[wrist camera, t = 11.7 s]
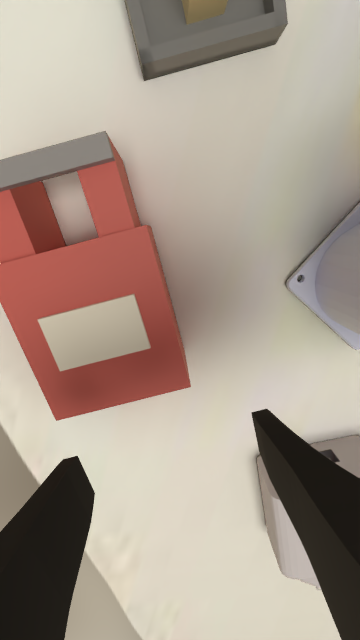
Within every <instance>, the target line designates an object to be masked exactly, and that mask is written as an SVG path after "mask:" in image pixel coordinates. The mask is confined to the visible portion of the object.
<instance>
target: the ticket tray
mask: <svg viewBox="0 0 360 640" xmlns="http://www.w3.org/2000/svg"><path fill="white" fill-rule="evenodd" d="M125 4H126V8H127V12H128V16H129V20H130V25H131V29H132V33H133V37H134V41H135V45H136V49H137V54H138V58H139V62H140V66H141V70H142V74H143V79H144V81H145V80H149V79H152V78H156V77H160V76H163V75H167V74H170V73H174V72H177V71H181V70H185V69H188V68H192V67H195V66H199V65H202V64H206V63H210V62H213V61H217V60H220V59H224V58H228V57H231V56H235V55H238V54H242V53H245V52H249V51H253V50H256V49H260V48H263V47H267V46H270V45H274V44H276V42H277V41H278V39H279V37H280V36H281V34H282V32H283V31H284V29H285V27H286V26H287V24H288V21H287V12H286V2H285V0H228V1H227V5H226V8H225V12H224V14H221V15H218V16H215V17H211V18H208V19H205V20H201V21H198V22H195V23H191V24H188V25H187V24H186V19H185V14H184V9H183V4H182V0H125Z"/></svg>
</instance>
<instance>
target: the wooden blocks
mask: <svg viewBox="0 0 360 640" xmlns="http://www.w3.org/2000/svg"><path fill="white" fill-rule="evenodd" d="M227 1H228V0H182V4H183V9H184V14H185V19H186V24H187V25H188V24H191V23H195V22H198V21H201V20H205V19H208V18H211V17H215V16H218V15H221V14H224V12H225V8H226V5H227Z"/></svg>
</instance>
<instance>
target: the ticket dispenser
mask: <svg viewBox="0 0 360 640" xmlns="http://www.w3.org/2000/svg"><path fill="white" fill-rule="evenodd" d="M75 171H77V173H78V176H79V179H80V182H81V185H82V188H83V191H84V194H85V197H86V200H87V203H88V206H89V209H90V212H91V215H92V218H93V221H94V224H95V227H96V230H97V233H98V236H99V238H95V239H92V240H88V241H84V242H80V243H77V244H73V245H69V246H66V245H65V242H64V239H63V236H62V234H61V231H60V228H59V226H58V223H57V220H56V218H55V215H54V212H53V209H52V207H51V204H50V201H49V199H48V196H47V193H46V190H45V188H44V185H43V183H42V182H40V181H42V180H46V179H49V178H53V177H57V176H60V175H64V174H68V173H71V172H75ZM0 263H1V264H0V302H1V305H2V307H3V309H4V311H5V313H6V315H7V317H8V319H9V322H10V324H11V326H12V328H13V330H14V332H15V334H16V336H17V339H18V341H19V343H20V345H21V347H22V349H23V351H24V353H25V355H26V358H27V360H28V362H29V364H30V366H31V368H32V370H33V372H34V375H35V377H36V379H37V381H38V383H39V385H40V387H41V389H42V392H43V394H44V396H45V398H46V400H47V402H48V404H49V406H50V409H51V411H52V413H53V415H54V417H55V419H56V421H57V420H61V419H65V418H69V417H73V416H77V415H81V414H85V413H89V412H93V411H97V410H101V409H105V408H109V407H113V406H117V405H121V404H125V403H129V402H133V401H137V400H140V399H144V398H148V397H152V396H156V395H160V394H164V393H168V392H172V391H176V390H180V389H184V388H188V387H191V385H190V379H189V374H188V368H187V362H186V356H185V351H184V347H183V343H182V340H181V336H180V332H179V329H178V325H177V321H176V318H175V314H174V310H173V306H172V303H171V299H170V295H169V292H168V288H167V284H166V281H165V277H164V273H163V270H162V266H161V262H160V258H159V255H158V251H157V247H156V244H155V240H154V236H153V233H152V229H151V226H148V225H144V226H141V224H140V221H139V217H138V214H137V210H136V206H135V203H134V199H133V196H132V192H131V189H130V185H129V182H128V178H127V174H126V171H125V167H124V164H123V160H122V159H121V157H120V155H119V154H118V152H117V150H116V148H115V147H114V145H113V143H112V142H111V140H110V138H109V136H108V135H107V133H106V131H103V132H100V133H96V134H93V135H89V136H85V137H82V138H78V139H74V140H71V141H67V142H64V143H60V144H56V145H53V146H49V147H45V148H42V149H38V150H35V151H31V152H27V153H24V154H20V155H16V156H13V157H9V158H6V159H2V160H0Z"/></svg>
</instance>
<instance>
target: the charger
mask: <svg viewBox="0 0 360 640" xmlns="http://www.w3.org/2000/svg"><path fill="white" fill-rule="evenodd" d="M309 445H311V446H312V447H313V448H315V449H316V450H317V451H322V452H320V453H322V454H323V455H324V456H326V457H327V458H329V459H330V460H332V461H333V462H335V463H336V464H338V465H339V466H341V467H342V468H344V469H345V470H347V471H349V472H350V473H352V474H354V475H355V476H357V477H358V478H360V436H355V435H351V436H346V437H341V438H336V439H332V440H327V441H322V442H317V443H312V444H309ZM329 449H331V450H329ZM324 450H327V451H324ZM257 465H258V472H259V479H260V486H261V492H262V499H263V506H264V513H265V520H266V526H267V533H268V536H269V539H270V542H271V545H272V548H273V551H274V554H275V556H276V559H277V562H278V565H279V568H280V571H281V572H282V574H283V575H285V576H286V577H288V578H291V579H298V580H301V581H302V582H305V583H308V584H311V585H314V586H316V589H317V590H321V587H320V585H319V582H318V580H317V577H316V575H315V573H314V570H313V568H312V565H311V563H310V560H309V558H308V556H307V553H306V551H305V549H304V547H303V545H302V542H301V540H300V538H299V536H298V534H297V532H296V530H295V528H294V526H293V524H292V522H291V520H290V518H289V516H288V514H287V512H286V510H285V508H284V506H283V505H282V503H281V501H280V499H279V497H278V495H277V493H276V491H275V489H274V487H273V485H272V483H271V480H270V478H269V476H268V473H267V471H266V468H265V466H264V463H263V460H262V458H261V455H260V456H259V457H258V458H257Z"/></svg>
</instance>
